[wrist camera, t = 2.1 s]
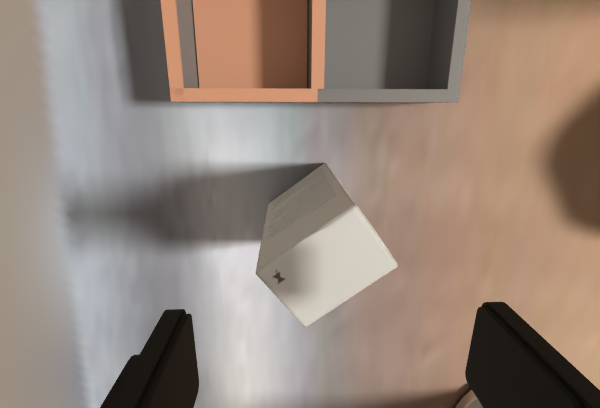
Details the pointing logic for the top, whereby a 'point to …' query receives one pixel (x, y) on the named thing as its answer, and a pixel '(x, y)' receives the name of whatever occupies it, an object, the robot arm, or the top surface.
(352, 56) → the box
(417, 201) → the top surface
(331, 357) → the top surface
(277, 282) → the skincare box
